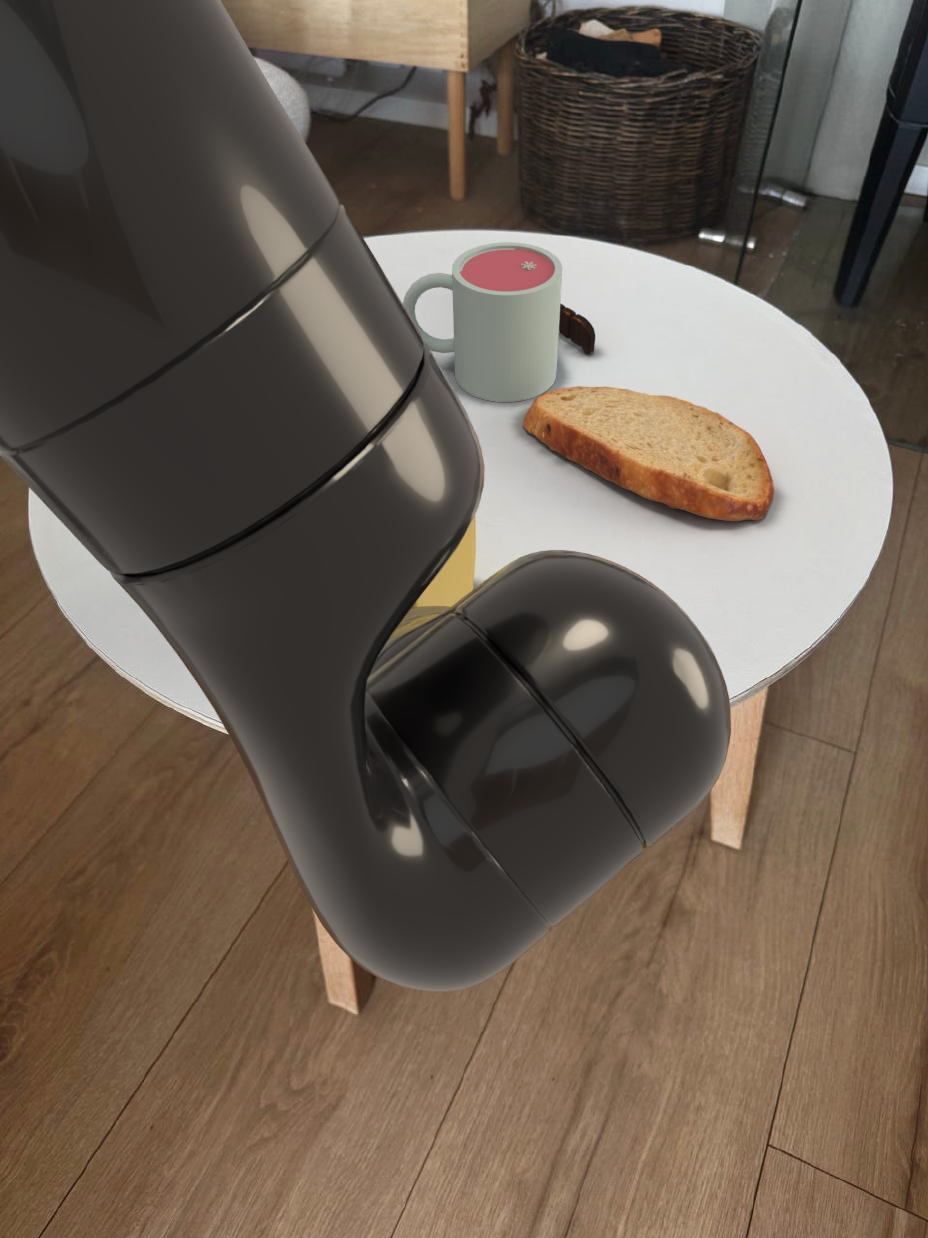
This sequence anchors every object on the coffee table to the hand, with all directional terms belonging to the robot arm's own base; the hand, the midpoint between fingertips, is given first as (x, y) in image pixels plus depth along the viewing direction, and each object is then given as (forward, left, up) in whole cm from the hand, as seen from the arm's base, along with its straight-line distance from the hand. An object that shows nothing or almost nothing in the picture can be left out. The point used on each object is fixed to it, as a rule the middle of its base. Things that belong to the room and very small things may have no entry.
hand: (404, 673), depth 56 cm
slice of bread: (+23, +24, -7) cm, 34 cm away
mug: (+13, +40, -7) cm, 42 cm away
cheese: (0, +11, -7) cm, 13 cm away
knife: (+20, +48, -7) cm, 52 cm away
